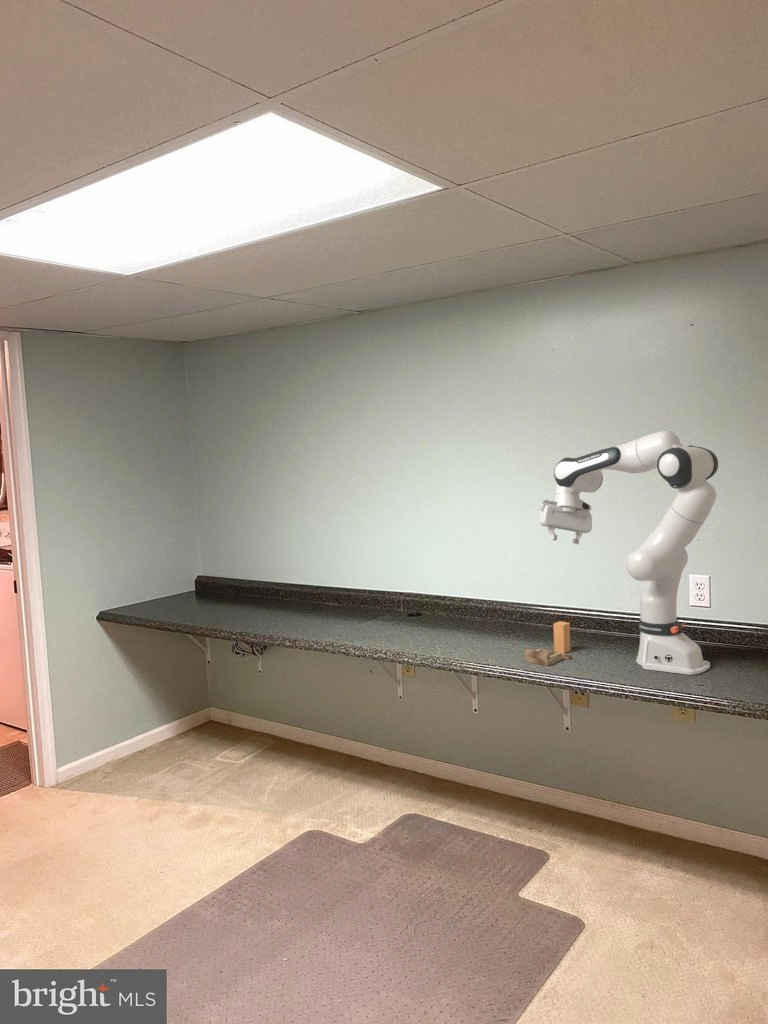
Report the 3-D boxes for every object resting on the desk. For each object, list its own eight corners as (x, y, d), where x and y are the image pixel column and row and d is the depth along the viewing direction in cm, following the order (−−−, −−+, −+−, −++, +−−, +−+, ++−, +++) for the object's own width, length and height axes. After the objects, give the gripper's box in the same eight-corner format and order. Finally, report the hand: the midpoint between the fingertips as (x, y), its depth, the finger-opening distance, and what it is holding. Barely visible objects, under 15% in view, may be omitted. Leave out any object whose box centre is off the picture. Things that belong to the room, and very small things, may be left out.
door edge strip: (571, 658, 262) (570, 654, 262) (568, 659, 261) (568, 656, 261) (540, 652, 270) (540, 649, 270) (538, 653, 269) (538, 650, 269)
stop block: (570, 650, 271) (569, 622, 270) (564, 653, 268) (563, 625, 267) (560, 649, 274) (559, 621, 273) (554, 651, 271) (553, 623, 270)
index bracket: (561, 659, 261) (561, 648, 260) (547, 666, 255) (547, 654, 254) (539, 655, 267) (539, 644, 266) (525, 661, 261) (525, 650, 261)
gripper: (547, 497, 270) (545, 536, 267) (595, 507, 277) (593, 545, 274) (536, 500, 275) (534, 538, 273) (584, 509, 283) (582, 547, 280)
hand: (564, 542), depth 274 cm, fingers open, 8 cm apart
